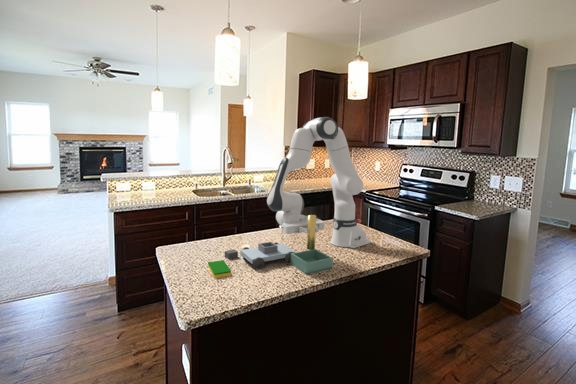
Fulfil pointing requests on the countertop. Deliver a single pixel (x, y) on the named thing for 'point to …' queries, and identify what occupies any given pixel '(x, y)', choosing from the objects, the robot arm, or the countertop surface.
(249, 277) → the countertop surface
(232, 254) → the wheel chock
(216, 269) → the dish sponge
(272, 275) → the countertop surface
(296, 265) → the tray
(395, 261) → the countertop surface
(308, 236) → the pin
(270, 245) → the trolley
